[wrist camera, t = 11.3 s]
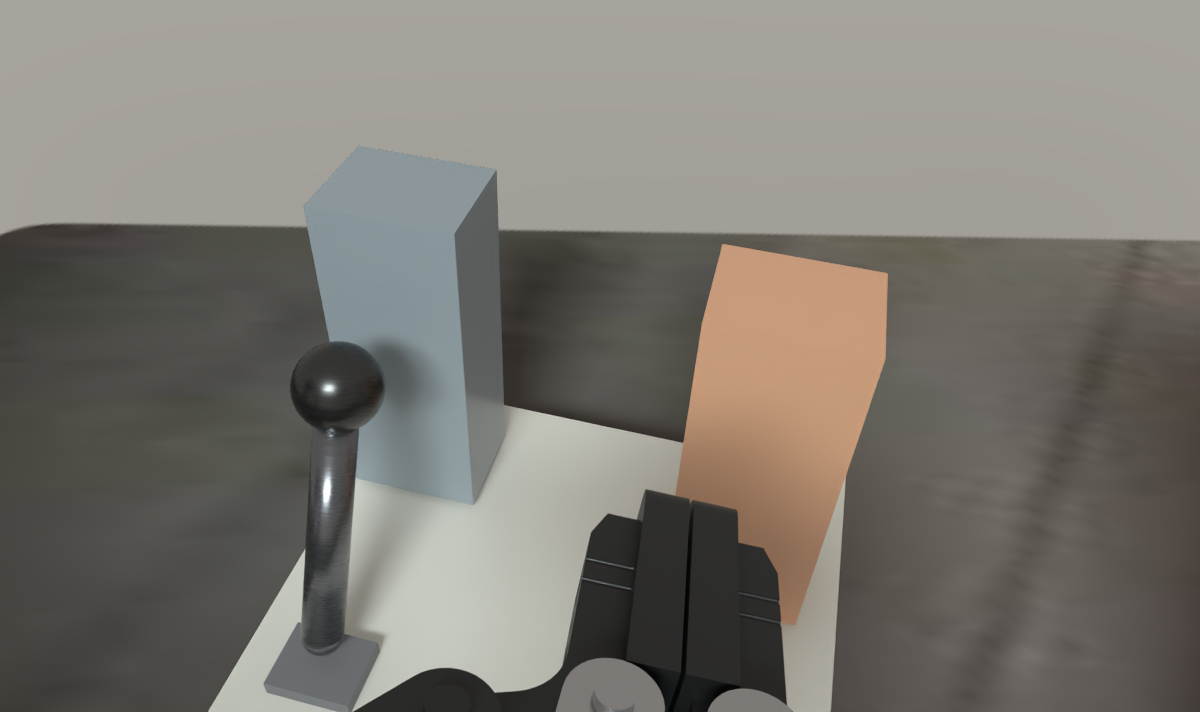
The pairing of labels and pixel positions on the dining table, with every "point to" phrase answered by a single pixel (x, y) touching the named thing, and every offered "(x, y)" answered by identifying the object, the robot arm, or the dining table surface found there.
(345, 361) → the toggle lever
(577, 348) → the dining table surface
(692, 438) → the terracotta slider
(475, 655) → the control board
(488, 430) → the slate slider
